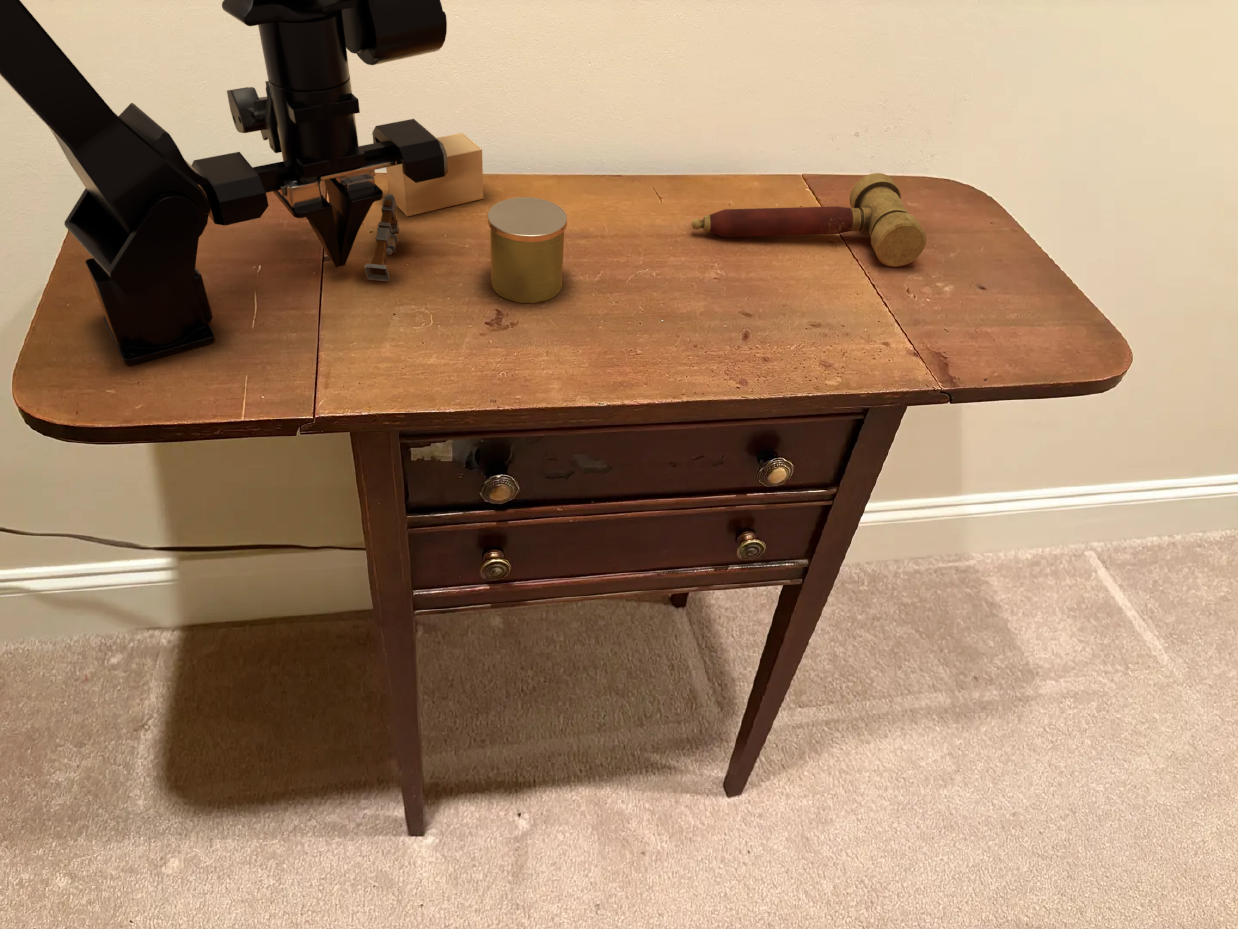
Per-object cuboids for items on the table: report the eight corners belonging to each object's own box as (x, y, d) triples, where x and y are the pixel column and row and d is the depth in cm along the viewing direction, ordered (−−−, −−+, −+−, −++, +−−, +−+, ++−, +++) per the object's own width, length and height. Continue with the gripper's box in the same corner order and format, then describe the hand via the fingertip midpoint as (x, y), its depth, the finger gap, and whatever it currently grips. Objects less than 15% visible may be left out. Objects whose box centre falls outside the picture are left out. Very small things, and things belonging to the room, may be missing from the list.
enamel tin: (512, 312, 75) (512, 242, 71) (475, 275, 79) (473, 206, 75) (578, 292, 78) (582, 224, 74) (539, 257, 82) (540, 190, 78)
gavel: (700, 228, 81) (686, 176, 88) (696, 273, 84) (683, 219, 91) (932, 222, 82) (899, 171, 90) (920, 266, 85) (889, 214, 93)
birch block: (407, 216, 85) (402, 165, 82) (389, 198, 88) (383, 147, 84) (483, 198, 89) (482, 149, 86) (464, 181, 91) (462, 132, 88)
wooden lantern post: (407, 222, 83) (399, 188, 79) (394, 297, 80) (385, 267, 75) (387, 220, 83) (378, 187, 78) (373, 296, 80) (363, 265, 75)
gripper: (383, 23, 75) (400, 199, 86) (143, 56, 67) (194, 246, 78) (445, 71, 69) (455, 254, 80) (189, 114, 61) (238, 312, 71)
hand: (338, 264), depth 77 cm, fingers closed
